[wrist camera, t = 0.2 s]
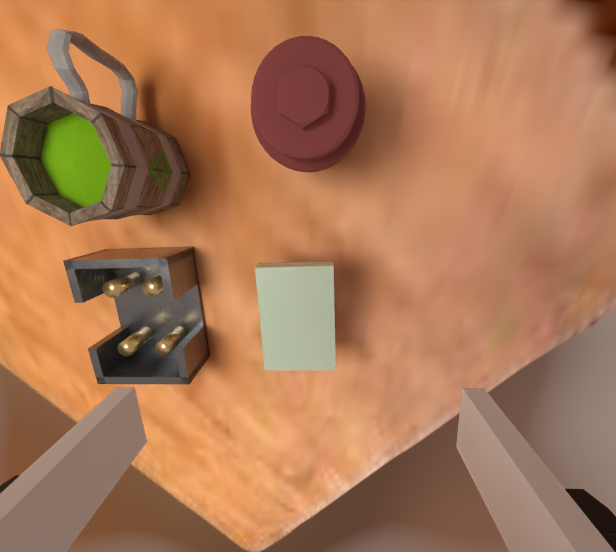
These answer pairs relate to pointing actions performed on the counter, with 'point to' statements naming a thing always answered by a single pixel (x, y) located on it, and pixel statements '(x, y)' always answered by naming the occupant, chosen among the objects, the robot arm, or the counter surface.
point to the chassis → (145, 313)
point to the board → (297, 315)
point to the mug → (89, 147)
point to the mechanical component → (307, 104)
